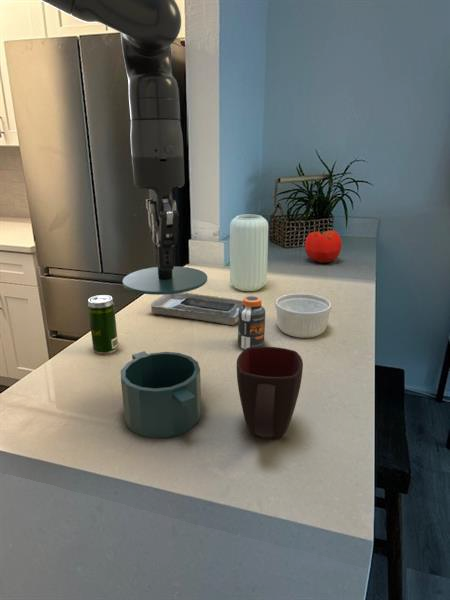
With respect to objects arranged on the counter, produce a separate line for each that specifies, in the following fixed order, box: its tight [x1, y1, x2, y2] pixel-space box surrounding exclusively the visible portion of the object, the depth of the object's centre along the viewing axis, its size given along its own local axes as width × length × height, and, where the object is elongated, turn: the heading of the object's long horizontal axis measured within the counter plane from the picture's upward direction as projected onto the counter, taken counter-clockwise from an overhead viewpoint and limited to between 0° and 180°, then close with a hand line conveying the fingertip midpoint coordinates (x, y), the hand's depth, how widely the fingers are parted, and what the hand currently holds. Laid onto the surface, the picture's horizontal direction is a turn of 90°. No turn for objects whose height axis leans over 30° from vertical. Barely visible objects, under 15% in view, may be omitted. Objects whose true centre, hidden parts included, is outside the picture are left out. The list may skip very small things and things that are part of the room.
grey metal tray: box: [148, 292, 243, 326], centre depth 115 cm, size 13×25×3 cm, turn 71°
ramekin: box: [274, 292, 332, 339], centre depth 104 cm, size 13×13×7 cm
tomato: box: [304, 229, 342, 264], centre depth 162 cm, size 13×14×12 cm
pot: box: [120, 351, 202, 439], centre depth 71 cm, size 13×18×8 cm
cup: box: [236, 346, 304, 440], centre depth 65 cm, size 10×14×12 cm
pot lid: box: [122, 248, 208, 296], centre depth 69 cm, size 14×14×6 cm
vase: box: [229, 213, 269, 292], centre depth 131 cm, size 12×12×22 cm
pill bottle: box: [237, 295, 266, 350], centre depth 95 cm, size 6×6×11 cm
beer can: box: [87, 294, 119, 356], centre depth 93 cm, size 5×5×12 cm
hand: (164, 267), depth 69 cm, fingers closed on pot lid, 2 cm apart
